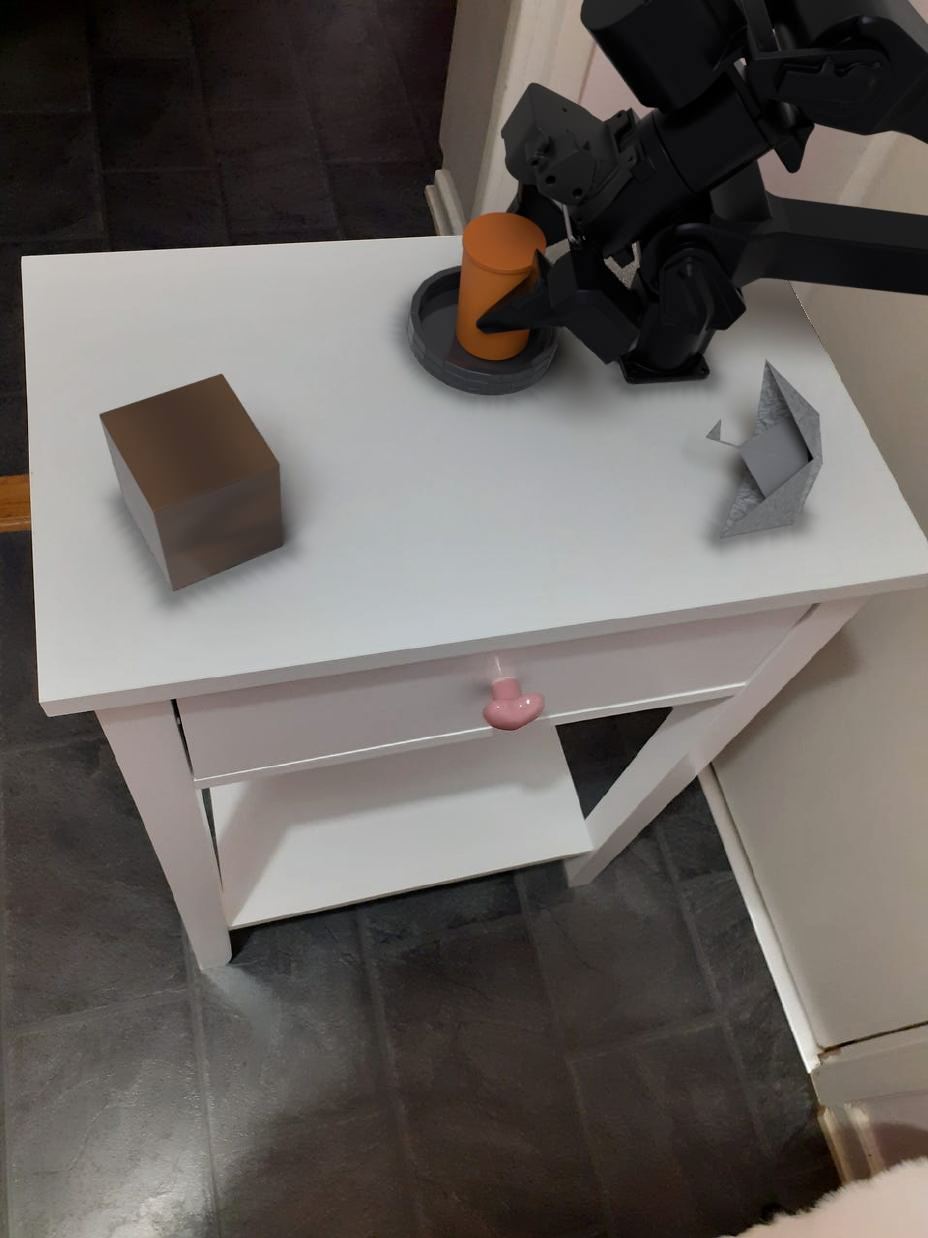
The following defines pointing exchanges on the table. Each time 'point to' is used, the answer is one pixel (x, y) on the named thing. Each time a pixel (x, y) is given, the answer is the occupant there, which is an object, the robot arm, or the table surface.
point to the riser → (196, 479)
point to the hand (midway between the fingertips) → (476, 298)
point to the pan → (451, 361)
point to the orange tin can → (494, 278)
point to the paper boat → (776, 459)
